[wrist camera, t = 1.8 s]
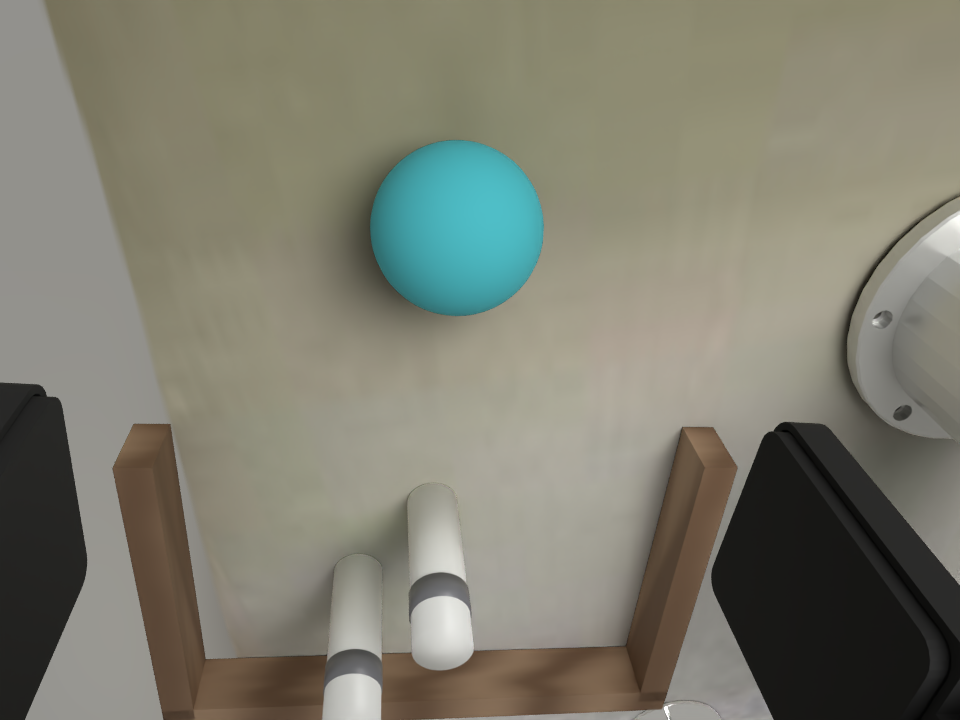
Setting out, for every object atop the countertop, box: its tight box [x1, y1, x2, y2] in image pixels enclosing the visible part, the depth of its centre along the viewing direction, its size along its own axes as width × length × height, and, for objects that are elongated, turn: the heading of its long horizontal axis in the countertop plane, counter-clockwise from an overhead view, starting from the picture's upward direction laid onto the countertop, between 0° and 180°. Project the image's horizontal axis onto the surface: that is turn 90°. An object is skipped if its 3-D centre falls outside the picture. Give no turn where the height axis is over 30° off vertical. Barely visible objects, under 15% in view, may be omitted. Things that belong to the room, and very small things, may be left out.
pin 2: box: [407, 483, 474, 670], centre depth 34 cm, size 2×2×8 cm
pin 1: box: [322, 554, 383, 720], centre depth 35 cm, size 2×2×8 cm
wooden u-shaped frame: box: [113, 424, 738, 720], centre depth 38 cm, size 26×17×3 cm, turn 86°
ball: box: [370, 140, 544, 316], centre depth 27 cm, size 6×6×6 cm
